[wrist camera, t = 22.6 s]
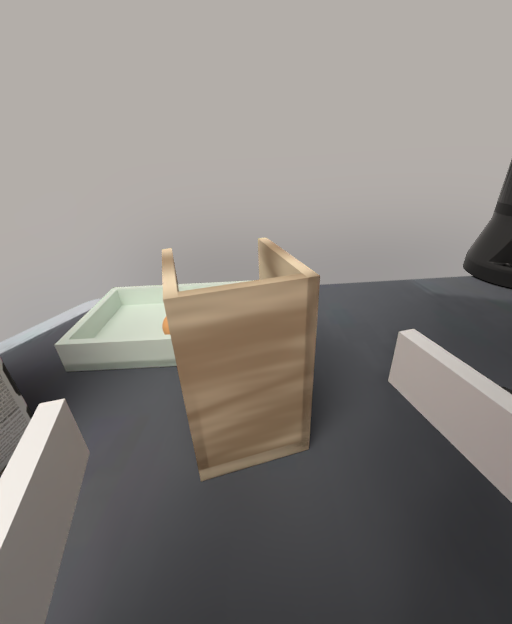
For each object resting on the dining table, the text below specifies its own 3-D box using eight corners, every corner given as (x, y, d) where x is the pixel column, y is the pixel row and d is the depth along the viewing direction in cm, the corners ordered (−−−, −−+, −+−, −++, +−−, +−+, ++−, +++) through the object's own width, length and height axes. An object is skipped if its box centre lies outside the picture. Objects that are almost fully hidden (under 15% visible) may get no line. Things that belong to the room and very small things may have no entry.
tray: (269, 300, 39) (269, 279, 38) (279, 360, 27) (279, 333, 26) (119, 308, 39) (113, 287, 37) (65, 371, 27) (54, 344, 26)
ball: (184, 339, 27) (203, 319, 29) (159, 318, 27) (180, 300, 29) (175, 351, 30) (193, 332, 32) (152, 332, 29) (172, 314, 31)
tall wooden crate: (308, 449, 19) (319, 275, 13) (200, 481, 17) (162, 299, 12) (269, 373, 26) (266, 237, 20) (189, 391, 24) (161, 249, 19)
